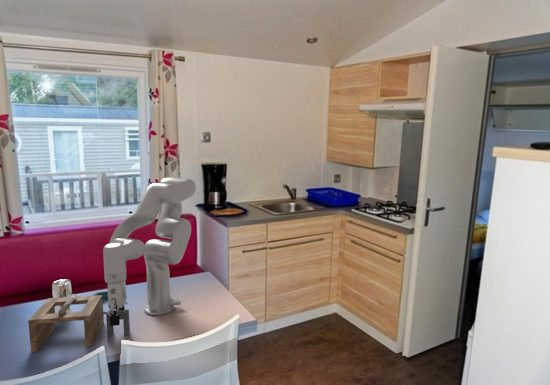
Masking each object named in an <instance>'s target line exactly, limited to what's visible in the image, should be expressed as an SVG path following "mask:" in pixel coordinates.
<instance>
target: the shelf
mask: <svg viewBox="0 0 550 385" xmlns="http://www.w3.org/2000/svg"><path fill="white" fill-rule="evenodd" d="M60 305H63V306H62V308H61V309H60V310H59V311H58V313H56V306H60ZM72 305H84V306H83V307H82V309H81V311H72V312H67V313H65V312H66V310H67V309H68V308H69V306H70V307H71V306H72ZM103 311H104V302H103V299H102V295H95V296H92V295H85V296H84V295H83V296H82V295H80V296H77V295H76V294H75V293H73V294H72V295H71V296H70V297H63V298H53V297H52V298H50V297H49V298H47V299H46V300H45V301H44V302H43V303H42V304H41V306H40V307H39V308H38V309H37V310H36V311H35V312H34V313H33V314H32V315H31V316H30V318H29V319H28V321H27V322H28V323H27V324H28V332H29V334H28V335H29V342H30V344H29V345H30V352H31V353H34V352H38V351H39V350H40V348H42V346H43V345H44V343H45V342H46V340H47V339H48V338H49V337H50V335H51V334H52V333H53V331H54V330H55V328H56V327H57V323H63V322H76V321H77V322H78V321H79V322H80V321H83V327H84V341H85V342H84V343H85V348H91V347H93V345H94V343H95V341H96V339H97V337H98V335H99V333H100V331H101V329H102V328H103V325H104V323H105V319H104V318H105V317H104V313H103Z"/></svg>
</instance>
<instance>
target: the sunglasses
mask: <svg viewBox="0 0 550 385" xmlns="http://www.w3.org/2000/svg"><path fill="white" fill-rule="evenodd" d="M95 295H102V299H103V300H105V301H106V300H108V290H102V291H101V290H100V291H97V292H95V293H92V295H91V296H95ZM125 304H126V305H128V302H127V300H126V301H125ZM107 312H108V311H104V310H103V314H107Z"/></svg>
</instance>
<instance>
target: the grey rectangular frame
mask: <svg viewBox="0 0 550 385" xmlns="http://www.w3.org/2000/svg"><path fill="white" fill-rule="evenodd" d="M114 311H116V309H115V310H114ZM106 312H107V313H105V318H106V333H107V334H106V335H107V339H108V338H113V335H114V333H115V332H114V326H111V325H110V310H107V311H106ZM118 315H119V319H120V320H123V321H122V322H123V324H122V325H123V334H124V335H123V336H124V337H129V336H130V333H131V327H130V326H131V324H130V309H125V310H119V312H118Z"/></svg>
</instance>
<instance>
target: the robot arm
mask: <svg viewBox="0 0 550 385" xmlns="http://www.w3.org/2000/svg"><path fill="white" fill-rule="evenodd" d="M196 190H197V187H196V183H195V181H194V180H193V179H191V178H187V177H186V178H184V177H174V176H173V177H171V176H170V177H169V176H168V177H164V178H162V179H161V180H160V182H153V183H151V184H149V185H148V186H147V188H146V190H145V192H144V194H143V195H142V198H141V200H140V202H138V203H139V204H138V206H137V207H136V209H135V212H133V213H132V214H131V215H129V216H128V217H126V218H125V219H124V220H123V221H122V222H121V223H119V224H118V226H116V228H115V229H114V232H113V233H112V235H111V236H110V240H109V243H106V245H104V247H103V250H102V253H103V269H104V282H105V283H107V291H108V299H107V305H108V306H107V307H108V309H109V311H110V325H111V326H113V327H115V326H120V319H119V315H118V312H119V310H126V309H125V304H126V303H125V301H126V302H127V298H128V297H127V296H128V295H127V287H126V286H127V285H126V280H127V264H126V262H127V261H130V260H131V261H132V260H136V259H139V258H140V257H142V256H143V258H144V262H145V266H146V267H145V268H146V288H147V289H146V290H147V304H146V305H145V306H144V313H145V314H147V315H150V316H162V315H166V314H168V313H170V312H172V311H173V310H174V309H175V306H180V305H182V302H181V300H179V298H172V295H171V279H170V268H169V265H177V264H179V263H180V262H181V261H182V259H183V257H184V254H185V252H186V249H187V246H188V244H189V240H190V238H191V234H192V224H191V222H190V221H189V220H188V219H186V218H183V217H181V215H182V212H183V205H182V202H183V201H186V200H188V199H190V198H192V197H193V196H194V195H195V193H196ZM161 208H162V209H161ZM160 211H161V212H160ZM159 212H160V215H159ZM158 215H159V217H158ZM157 217H158V221H157V222H156V225H155V229H154V230H155V234H156V236H158V237H160V238H163V239H159V238H157V239H156V238H154V239H152V238H151V239H149V240H147V241H146V243H144V242H143V241H142V240H140V239H135V238H129V236H130V235H131V234H132V232H134V231H135V230H137V229H139V228H142V227H144V226H148V225H150V224H153V223H154V222H155V221H156V219H157ZM164 239H169V240H164ZM115 310H116V311H115Z"/></svg>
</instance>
